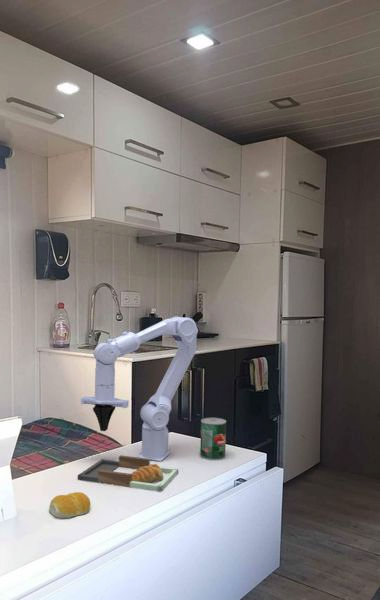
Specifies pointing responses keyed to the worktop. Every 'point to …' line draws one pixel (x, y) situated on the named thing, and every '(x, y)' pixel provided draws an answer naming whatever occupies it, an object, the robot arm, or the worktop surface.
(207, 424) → the canned tomato
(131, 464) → the corridor
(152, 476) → the pastry
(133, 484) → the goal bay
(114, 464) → the tray
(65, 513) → the bread roll
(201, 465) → the worktop surface
